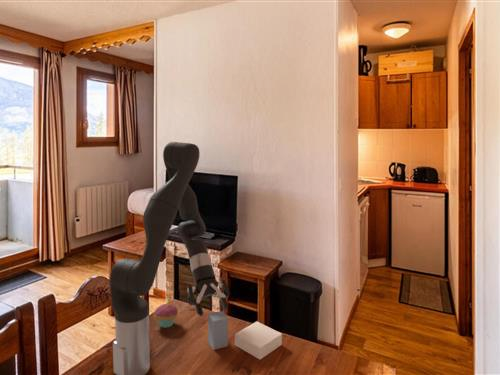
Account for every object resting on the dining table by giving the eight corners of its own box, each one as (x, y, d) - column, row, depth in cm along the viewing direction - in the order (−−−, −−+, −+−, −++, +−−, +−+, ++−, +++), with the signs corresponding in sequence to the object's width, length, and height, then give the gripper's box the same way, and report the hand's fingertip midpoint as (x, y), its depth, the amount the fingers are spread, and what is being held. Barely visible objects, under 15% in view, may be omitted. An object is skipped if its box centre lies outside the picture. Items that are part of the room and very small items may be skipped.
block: (213, 349, 113) (213, 321, 112) (207, 341, 117) (208, 313, 116) (227, 346, 115) (228, 317, 114) (221, 338, 120) (222, 310, 118)
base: (259, 359, 109) (260, 347, 108) (234, 344, 116) (235, 333, 115) (281, 344, 117) (281, 333, 116) (256, 331, 124) (256, 321, 123)
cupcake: (164, 316, 133) (164, 286, 131) (183, 321, 129) (183, 291, 127) (149, 327, 125) (148, 295, 123) (168, 333, 122) (167, 300, 120)
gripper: (185, 267, 120) (196, 313, 112) (223, 261, 127) (236, 304, 119) (180, 276, 126) (190, 321, 118) (217, 270, 133) (229, 312, 124)
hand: (213, 312), depth 118 cm, fingers open, 8 cm apart
